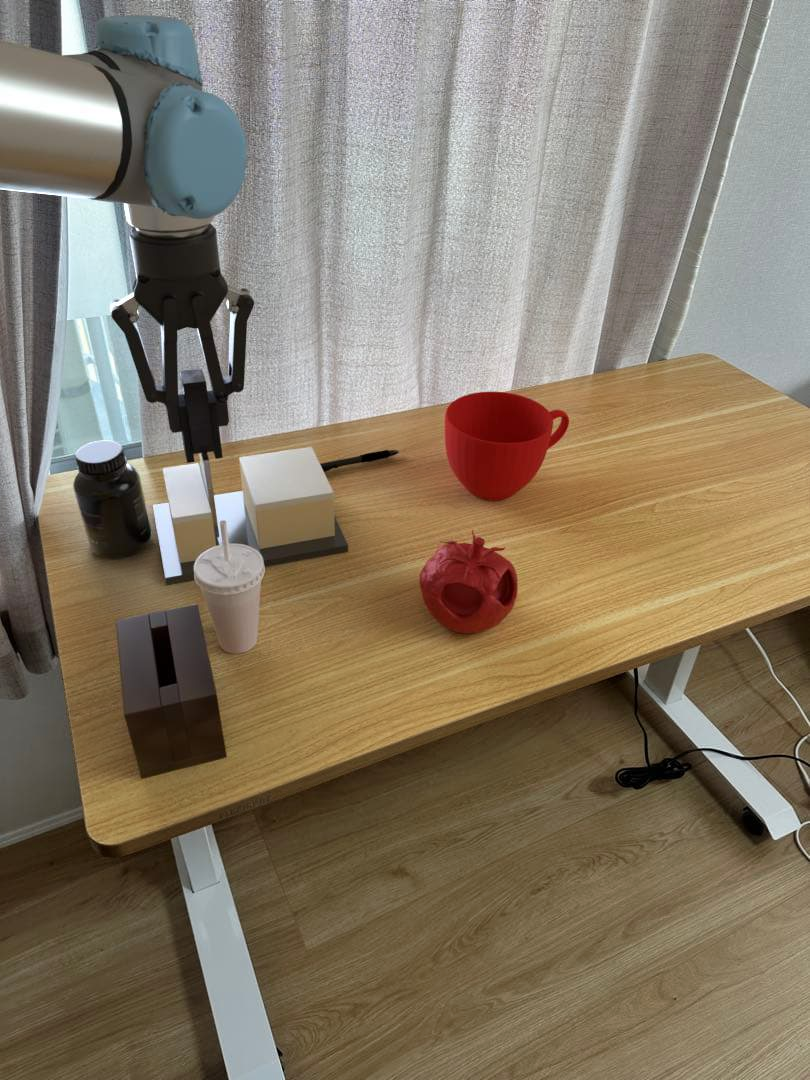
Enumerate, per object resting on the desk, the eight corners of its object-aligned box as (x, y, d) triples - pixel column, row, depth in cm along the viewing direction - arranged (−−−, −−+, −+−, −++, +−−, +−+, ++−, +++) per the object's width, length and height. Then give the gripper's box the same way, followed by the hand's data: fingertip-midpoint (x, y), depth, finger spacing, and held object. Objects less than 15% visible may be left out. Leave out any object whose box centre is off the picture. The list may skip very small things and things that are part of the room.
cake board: (166, 585, 85) (164, 578, 85) (153, 511, 96) (152, 504, 95) (348, 551, 91) (348, 544, 90) (317, 485, 101) (317, 478, 101)
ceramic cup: (588, 494, 102) (602, 424, 96) (472, 525, 95) (479, 453, 89) (531, 445, 111) (541, 378, 105) (422, 471, 105) (426, 402, 99)
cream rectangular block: (180, 563, 87) (172, 518, 83) (170, 511, 94) (162, 468, 90) (217, 556, 88) (211, 512, 84) (204, 506, 95) (198, 462, 92)
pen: (299, 479, 102) (299, 472, 101) (295, 473, 103) (295, 465, 102) (401, 459, 106) (401, 452, 106) (396, 453, 108) (396, 445, 107)
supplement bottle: (125, 517, 95) (106, 427, 87) (165, 538, 92) (148, 448, 84) (76, 545, 90) (51, 453, 83) (116, 569, 87) (93, 476, 80)
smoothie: (264, 612, 82) (254, 500, 74) (277, 656, 78) (267, 541, 69) (201, 624, 81) (182, 511, 72) (209, 669, 76) (190, 554, 67)
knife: (206, 539, 88) (185, 390, 77) (199, 509, 93) (177, 364, 82) (226, 536, 89) (208, 388, 78) (218, 506, 93) (199, 362, 82)
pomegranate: (405, 589, 86) (408, 519, 80) (491, 572, 89) (500, 503, 83) (437, 653, 79) (443, 581, 73) (530, 633, 81) (542, 562, 76)
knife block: (141, 778, 66) (123, 714, 61) (131, 683, 74) (115, 619, 69) (226, 757, 68) (216, 693, 63) (208, 666, 76) (197, 603, 71)
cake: (259, 549, 89) (255, 505, 85) (243, 499, 96) (238, 457, 93) (334, 536, 91) (333, 492, 88) (313, 488, 99) (311, 446, 95)
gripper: (250, 208, 76) (267, 427, 90) (79, 217, 72) (125, 446, 86) (266, 232, 70) (281, 461, 85) (81, 244, 66) (130, 483, 80)
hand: (203, 453), depth 85 cm, fingers closed on knife, 2 cm apart
